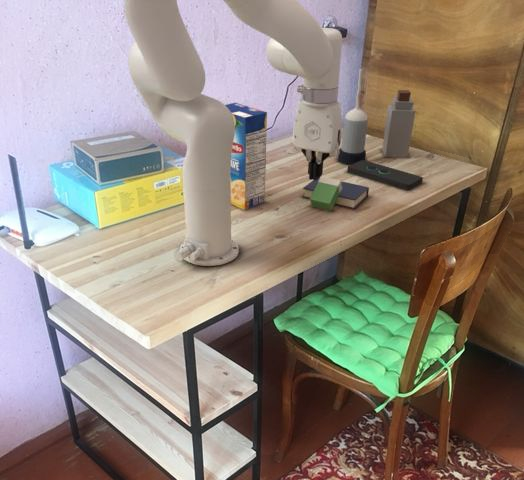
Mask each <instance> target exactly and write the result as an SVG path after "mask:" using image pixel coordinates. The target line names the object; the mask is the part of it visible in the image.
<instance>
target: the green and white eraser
mask: <svg viewBox="0 0 524 480" xmlns="http://www.w3.org/2000/svg"><path fill="white" fill-rule="evenodd" d="M341 181H342V180H340V179H336V178H331V177H327V176H323V175H322V176H321V177H320V179H319V181H318V183H317V185H316V187H315V189H314V191H313V193H312V195H311V197H310V199H309V202H310V205H311V207H313V208H318V209H320V210H326V211H329V212H332V211H333V209H334V207H335V205H334V204H335V202H336V200H337V198H338V196H339V194H340V192H341V190H342V184H341Z"/></svg>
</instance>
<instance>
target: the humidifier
mask: <svg viewBox="0 0 524 480" xmlns="http://www.w3.org/2000/svg"><path fill="white" fill-rule="evenodd" d="M367 74H368V71H366V72H365V76H367ZM362 76H363V68H360V69H359V71H358V81H357V92H356V95H355V96H356V97H355V107H354V108H353V109H350V110H349V111H348V112H347V113H346V114H345V116H344V120H343V130H342V137H341V147H340V148H339V152H340V154H339V155H338V156H337V161H338V162H339V164H342V165H347V166H349V165H352V164H354V163H356V162H358V161H361V160H366V158H367V151H366V149H365V146H366V139H367V130H368V123H369V121H368V119H369V117H368V115H367V113H366V112H365V111H364V110H363V108H364V105H362V106H360V97H361V93H362V79H363V77H362ZM366 83H367V79H365V80H364V84H366ZM365 88H366V86H365V85H364V88H363V89H364V91H366V89H365ZM365 95H366V94H363V97H365ZM364 101H365V98H363V99H362V102H364ZM360 107H361V108H360Z"/></svg>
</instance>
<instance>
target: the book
mask: <svg viewBox="0 0 524 480" xmlns="http://www.w3.org/2000/svg"><path fill="white" fill-rule="evenodd" d="M319 179H320V178H318V179H317V180H316V181H315V180H313V179H312V180H311V181H310V182H309V183H308V184H305V186H304V187H302V189H303V196H302V198H304V199H308V200H310V197H311V195H312V193H313V191H314V189H315V187H316V185H317V183H318V181H319ZM341 184H342V190H341V192H340V194H339V196H338V198H337V200H336V202H335V204H334V206H338V207H342V208H347V209H350V210H355V209H357V208H358V207H359V206H360V205H361V204H362V203H363V202H364V201H365V200H366V199H367V198H368V197H369V191H370V187H369V186H366V185H365V186H364V185H360V184H355V183H351V182H348V181H347V182H346V181H342V180H341Z"/></svg>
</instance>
